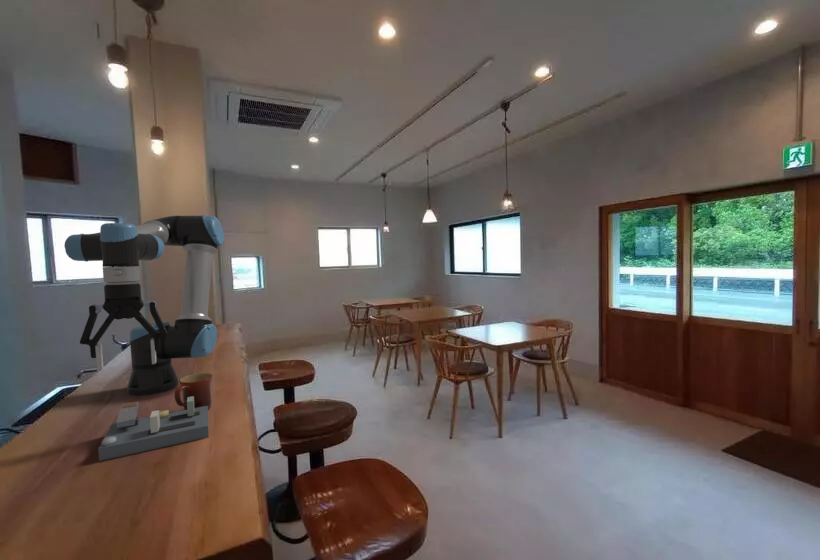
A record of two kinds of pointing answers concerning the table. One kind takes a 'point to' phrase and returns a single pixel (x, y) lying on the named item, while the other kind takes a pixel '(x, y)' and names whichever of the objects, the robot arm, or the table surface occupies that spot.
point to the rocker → (127, 414)
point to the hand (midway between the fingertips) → (128, 366)
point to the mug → (195, 390)
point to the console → (170, 432)
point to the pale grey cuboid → (154, 421)
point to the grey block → (190, 406)
